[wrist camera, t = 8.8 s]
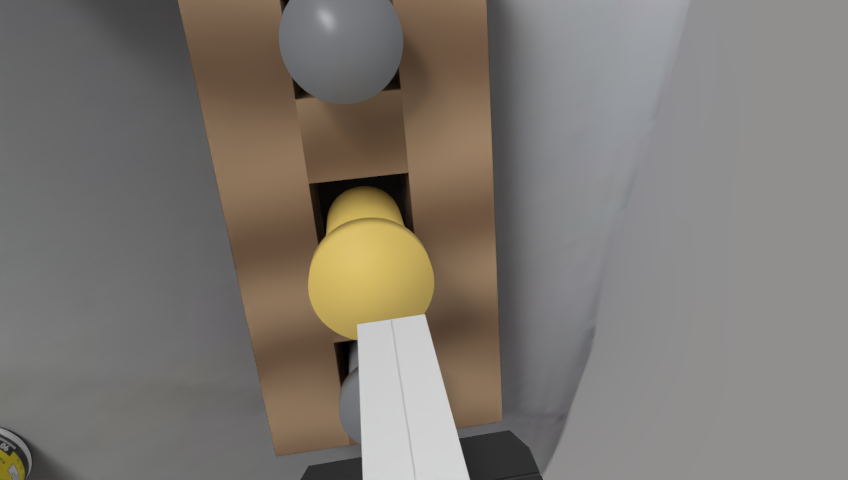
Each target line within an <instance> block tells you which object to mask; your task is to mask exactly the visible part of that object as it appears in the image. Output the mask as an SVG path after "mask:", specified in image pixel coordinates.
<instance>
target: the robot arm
mask: <svg viewBox="0 0 848 480" xmlns="http://www.w3.org/2000/svg"><path fill="white" fill-rule="evenodd" d="M357 333H358V361H359V388H360V415H361V442H362V457H359V458H353V459H347V460H341V461H336V462H330V463H324V464H318V465H312V466H308V468H307V470H306V472H305V473H304V475H303V477H302V478H301V480H543V479H542V477H541V476H540V473H539V470H538V467H537V465H536V463H535V460H534V458H533V456H532V453H531V451H530V449H529V447H527V446H526V445H525V444H524V443H523V442H522V441H521V440H520V439H518V438H517V437H516V436H515V435H514V434H513V433H512V432H511V431H509V430H508V431H502V432H496V433H490V434H484V435H478V436H472V437H466V438H460V439H459V438H458V434H457V431H456V427H455V423H454V419H453V416H452V412H451V408H450V405H449V401H448V397H447V394H446V390H445V386H444V383H443V379H442V375H441V372H440V368H439V364H438V361H437V357H436V353H435V350H434V346H433V342H432V338H431V335H430V331H429V327H428V324H427V320H426V316H425V314H423V315H416V316H410V317H403V318H396V319H390V320H383V321H376V322H370V323H363V324H357Z"/></svg>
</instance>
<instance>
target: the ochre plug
mask: <svg viewBox="0 0 848 480" xmlns="http://www.w3.org/2000/svg"><path fill="white" fill-rule="evenodd" d="M308 291H309V297H310V301H311V304H312V306H313V309H314V311H315V312H316V314H317V316H318V317H319V318H320V319H321V321H322V322H323V323H324V324H325V325H326V326H327V327H329V328H330V329H332V330H333V331H334V332H336V333H338V334H340V335H342V336H345V337H347V338H350V339H354V340H358V333H357V324H363V323H370V322H376V321H383V320H390V319H396V318H403V317H410V316H416V315H423V314H424V313H425V312H426V310H427V308H428V306H429V304H430V302H431V299H432V296H433V291H434V274H433V269H432V266H431V263H430V260H429V257H428V254H427V252H426V250H425V248H424V246H423V244H422V243H421V241H420V240H419V239H418V238H417V236H416V235H415V234H414V233H412V232H411V231H410V230H409V229H407V228H406V227H405V226H404V223H403V220H402V217H401V213H400V210H399V207H398V205H397V203H396V202H395V200H394V199H393V198H392V197H391V196H390V195H389V194H388V193H386V192H385V191H383V190H381V189H379V188H376V187H371V186H358V187H353V188H350V189H348V190H346V191H344V192H343V193H341V194H340V195H339V196H338V197H337V198H336V199H335V200H334V201H333V203H332V205H331V206H330V209H329V211H328V216H327V229H326V236H325V237H324V238H323V240H322V241H321V242H320V244H319V245H318V246H317V248H316V250H315V252H314V254H313V257H312V260H311V265H310V271H309V279H308Z"/></svg>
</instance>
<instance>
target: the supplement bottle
mask: <svg viewBox="0 0 848 480" xmlns="http://www.w3.org/2000/svg"><path fill="white" fill-rule="evenodd" d="M31 467H32V459H31V454H30V452H29V450H28V448H27V446H26V445H25V443H24V442H23V441H22V440H21V439H20V438H19V437H17V436H16V435H14V434H13V433H11V432H9V431H7V430H5V429H2V428H0V480H26V479H27V477H28V475H29V473H30V471H31Z"/></svg>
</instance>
